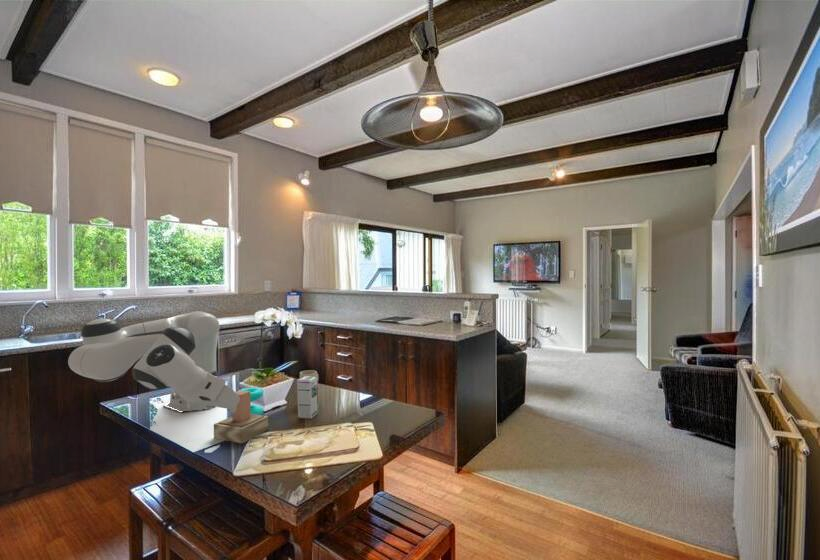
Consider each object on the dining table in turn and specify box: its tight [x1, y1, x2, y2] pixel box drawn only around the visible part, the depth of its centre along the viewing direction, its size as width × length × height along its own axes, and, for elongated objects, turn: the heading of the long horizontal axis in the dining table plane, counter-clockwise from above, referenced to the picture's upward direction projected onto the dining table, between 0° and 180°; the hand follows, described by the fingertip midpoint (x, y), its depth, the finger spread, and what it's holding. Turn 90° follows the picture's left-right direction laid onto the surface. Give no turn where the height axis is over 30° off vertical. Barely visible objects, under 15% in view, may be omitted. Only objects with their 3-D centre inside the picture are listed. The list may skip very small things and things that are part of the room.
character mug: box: [297, 369, 319, 382], centre depth 162 cm, size 11×7×13 cm, turn 146°
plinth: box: [213, 414, 269, 444], centre depth 130 cm, size 12×12×5 cm
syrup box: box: [296, 376, 319, 419], centre depth 146 cm, size 6×6×14 cm
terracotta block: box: [231, 389, 251, 422], centre depth 130 cm, size 4×4×9 cm
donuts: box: [236, 387, 264, 415], centre depth 146 cm, size 10×10×10 cm
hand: (222, 408), depth 122 cm, fingers open, 8 cm apart
